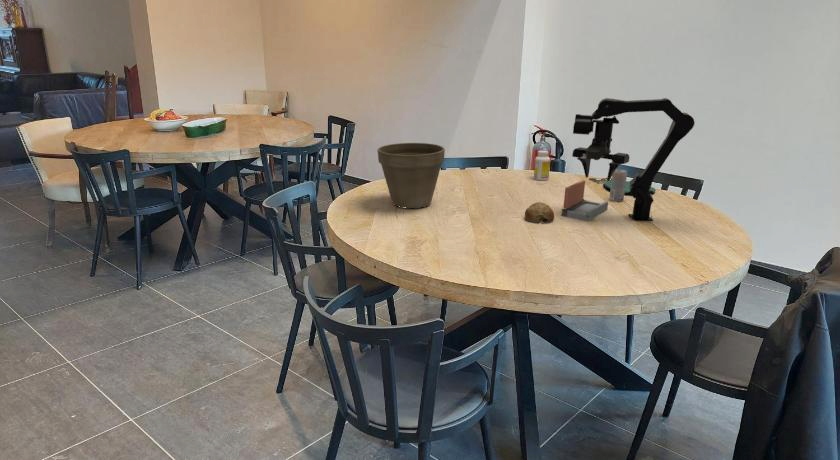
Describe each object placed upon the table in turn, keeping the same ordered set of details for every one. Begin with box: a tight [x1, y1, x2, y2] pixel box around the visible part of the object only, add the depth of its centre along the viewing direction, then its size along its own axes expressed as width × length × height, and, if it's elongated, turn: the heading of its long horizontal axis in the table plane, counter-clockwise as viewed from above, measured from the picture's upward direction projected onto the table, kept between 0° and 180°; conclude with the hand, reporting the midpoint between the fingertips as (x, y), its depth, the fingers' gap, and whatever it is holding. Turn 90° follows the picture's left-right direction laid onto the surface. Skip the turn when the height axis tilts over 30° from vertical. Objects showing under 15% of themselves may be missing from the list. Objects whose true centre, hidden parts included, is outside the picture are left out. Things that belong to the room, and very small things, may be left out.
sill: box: [561, 198, 587, 218], centre depth 207 cm, size 2×18×2 cm, turn 141°
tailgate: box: [562, 179, 586, 209], centre depth 205 cm, size 2×15×8 cm, turn 141°
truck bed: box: [567, 200, 609, 222], centre depth 203 cm, size 8×18×3 cm, turn 142°
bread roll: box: [524, 201, 555, 224], centre depth 196 cm, size 10×10×8 cm
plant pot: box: [377, 142, 446, 209], centre depth 210 cm, size 25×25×22 cm
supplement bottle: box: [533, 150, 551, 182], centre depth 252 cm, size 7×7×13 cm
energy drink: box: [608, 168, 628, 203], centre depth 219 cm, size 5×5×12 cm
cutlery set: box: [588, 177, 656, 195], centre depth 241 cm, size 20×30×2 cm, turn 12°
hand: (597, 179), depth 199 cm, fingers open, 8 cm apart
